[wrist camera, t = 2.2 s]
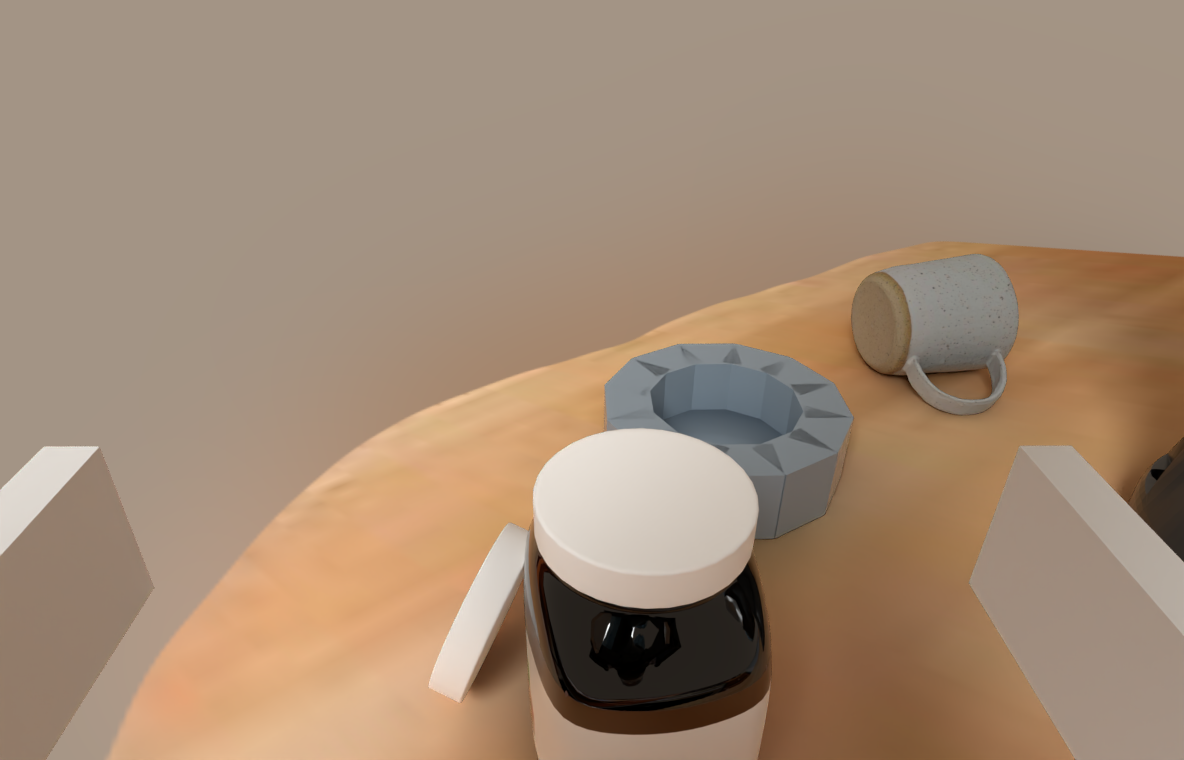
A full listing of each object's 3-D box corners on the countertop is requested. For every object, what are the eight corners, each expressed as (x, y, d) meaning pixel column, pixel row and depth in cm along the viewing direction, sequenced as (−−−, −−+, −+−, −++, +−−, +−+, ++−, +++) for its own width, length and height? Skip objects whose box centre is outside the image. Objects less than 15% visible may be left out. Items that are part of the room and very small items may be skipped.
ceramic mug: (835, 344, 55) (856, 245, 51) (937, 334, 57) (965, 237, 53) (916, 428, 47) (948, 317, 43) (1033, 414, 48) (1076, 305, 44)
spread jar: (775, 848, 25) (835, 603, 19) (430, 906, 24) (378, 658, 18) (683, 583, 35) (703, 367, 29) (436, 610, 34) (405, 389, 28)
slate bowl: (801, 397, 49) (811, 343, 47) (869, 537, 38) (885, 474, 36) (600, 399, 49) (601, 344, 47) (609, 540, 38) (611, 476, 36)
